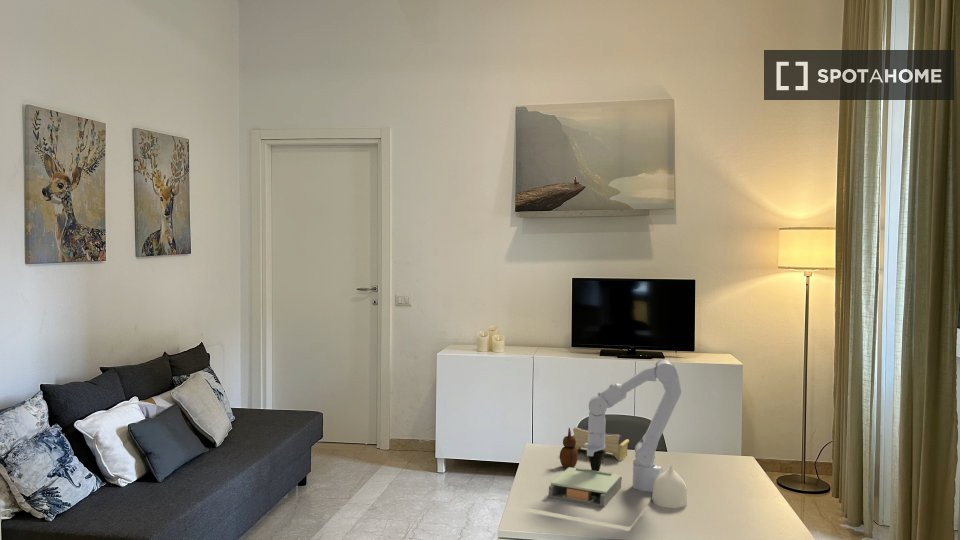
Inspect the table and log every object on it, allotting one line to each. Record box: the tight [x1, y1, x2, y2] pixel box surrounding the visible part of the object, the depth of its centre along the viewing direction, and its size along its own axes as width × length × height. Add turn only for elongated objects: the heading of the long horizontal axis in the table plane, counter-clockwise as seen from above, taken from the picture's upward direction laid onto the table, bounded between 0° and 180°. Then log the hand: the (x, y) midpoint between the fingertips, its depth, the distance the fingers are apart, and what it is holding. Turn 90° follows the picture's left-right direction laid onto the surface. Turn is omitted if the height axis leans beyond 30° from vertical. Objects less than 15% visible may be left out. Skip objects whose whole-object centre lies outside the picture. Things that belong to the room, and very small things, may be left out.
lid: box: [550, 467, 622, 494], centre depth 248 cm, size 18×18×1 cm
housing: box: [548, 476, 623, 508], centre depth 248 cm, size 18×21×5 cm
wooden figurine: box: [559, 427, 579, 469], centre depth 277 cm, size 7×6×15 cm
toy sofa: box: [571, 426, 630, 462], centre depth 295 cm, size 21×9×10 cm, turn 60°
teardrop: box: [651, 465, 688, 509], centre depth 244 cm, size 11×11×12 cm
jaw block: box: [567, 487, 591, 501], centre depth 242 cm, size 7×3×3 cm, turn 65°
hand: (595, 472), depth 257 cm, fingers closed
